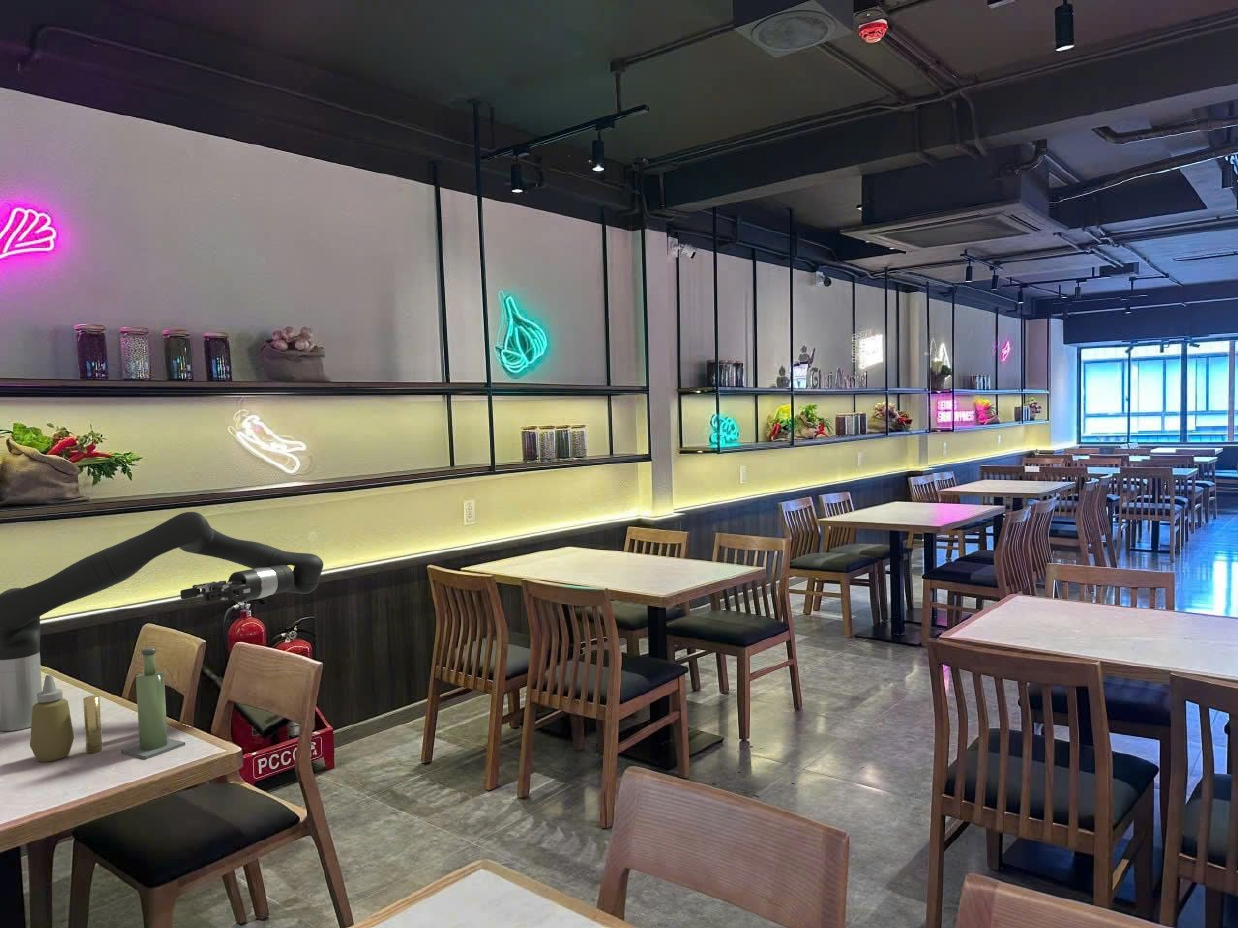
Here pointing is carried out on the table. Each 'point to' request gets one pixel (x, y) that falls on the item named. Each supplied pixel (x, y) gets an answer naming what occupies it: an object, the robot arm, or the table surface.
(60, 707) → the squeeze bottle
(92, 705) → the brass rod
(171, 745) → the grey coaster
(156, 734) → the olive bottle
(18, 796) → the table surface
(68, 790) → the table surface
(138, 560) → the robot arm
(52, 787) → the table surface
